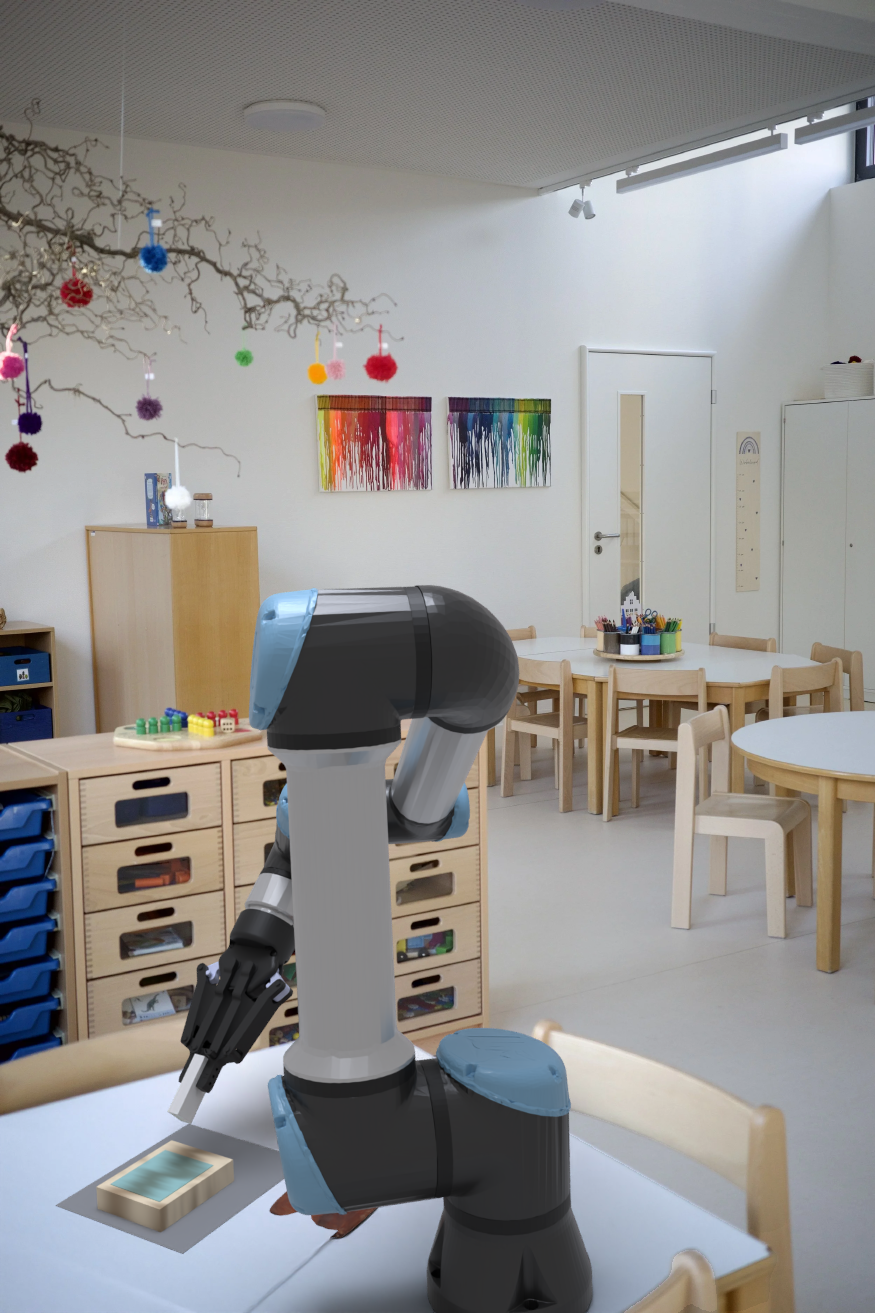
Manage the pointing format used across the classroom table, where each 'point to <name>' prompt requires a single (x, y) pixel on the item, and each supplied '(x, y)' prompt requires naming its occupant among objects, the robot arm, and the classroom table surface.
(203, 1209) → the grey mat
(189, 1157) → the beech board
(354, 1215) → the wooden tablet
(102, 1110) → the classroom table surface
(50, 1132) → the classroom table surface
